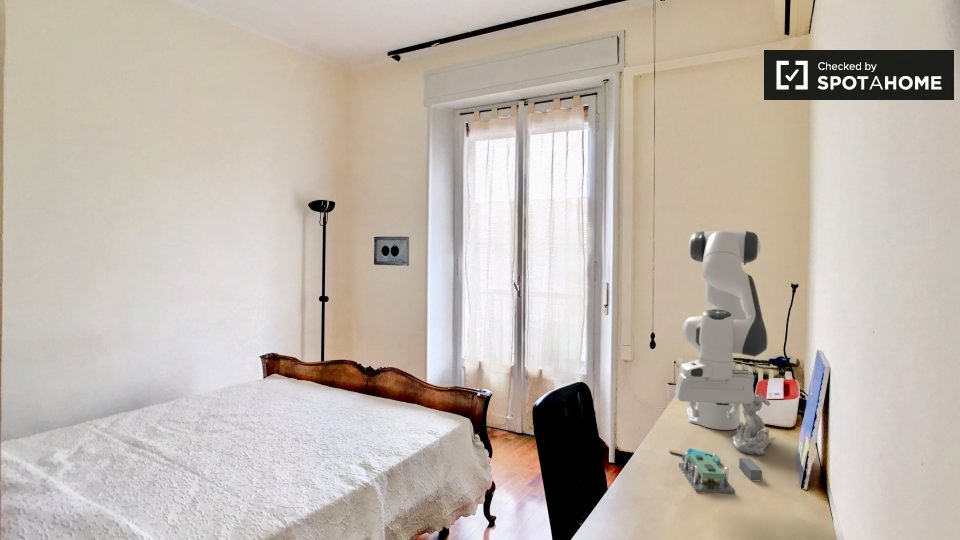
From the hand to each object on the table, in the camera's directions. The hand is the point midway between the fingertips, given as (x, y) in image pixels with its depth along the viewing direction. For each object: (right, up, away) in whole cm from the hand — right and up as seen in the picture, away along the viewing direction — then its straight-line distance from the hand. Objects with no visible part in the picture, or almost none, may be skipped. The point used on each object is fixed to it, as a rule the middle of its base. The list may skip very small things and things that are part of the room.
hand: (713, 417), depth 146 cm
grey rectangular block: (+12, -17, +4) cm, 22 cm away
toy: (0, -17, +14) cm, 22 cm away
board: (-2, -14, 0) cm, 14 cm away
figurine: (+23, -17, +24) cm, 37 cm away
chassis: (-2, -17, 0) cm, 17 cm away
